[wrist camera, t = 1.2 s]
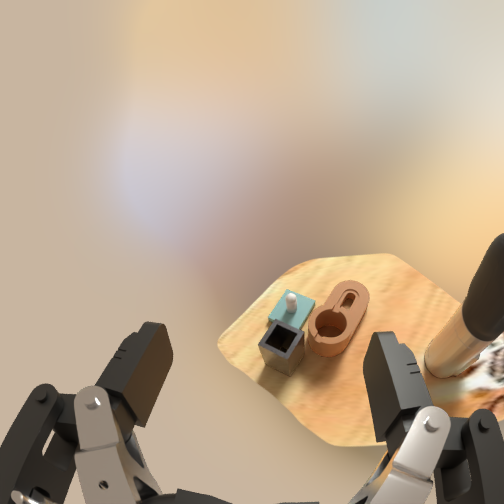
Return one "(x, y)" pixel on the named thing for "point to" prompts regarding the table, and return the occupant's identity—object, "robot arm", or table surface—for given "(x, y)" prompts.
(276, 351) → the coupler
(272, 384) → the table surface
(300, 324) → the shaft mount
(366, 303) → the bracket
